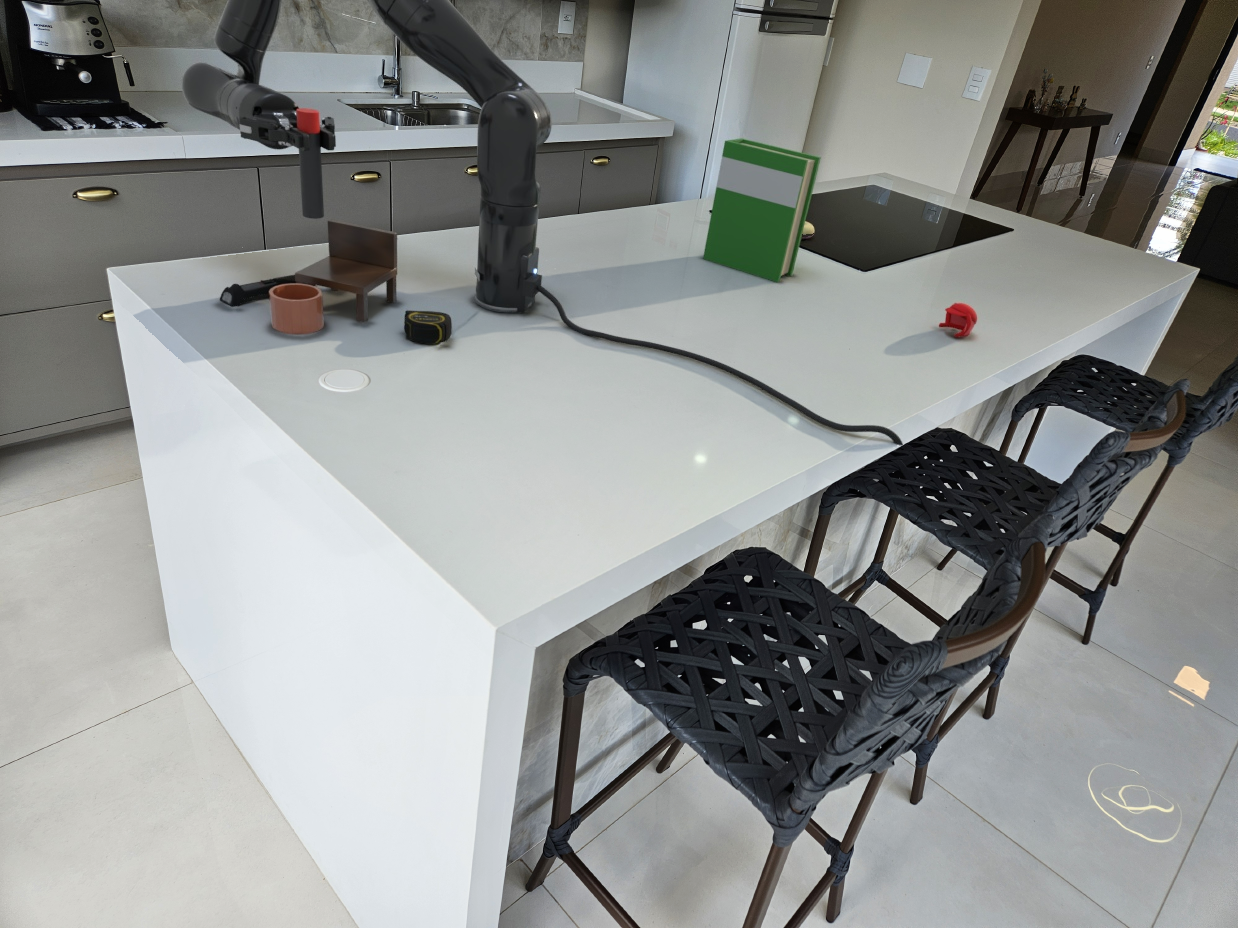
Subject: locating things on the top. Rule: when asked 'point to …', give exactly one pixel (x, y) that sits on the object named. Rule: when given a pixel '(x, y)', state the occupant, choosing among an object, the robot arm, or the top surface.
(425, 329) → the tape measure
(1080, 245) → the top surface
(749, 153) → the hardback book
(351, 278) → the chair
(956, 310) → the red toy helmet
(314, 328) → the pen pot
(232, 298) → the electric trimmer
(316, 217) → the marker
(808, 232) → the donut
